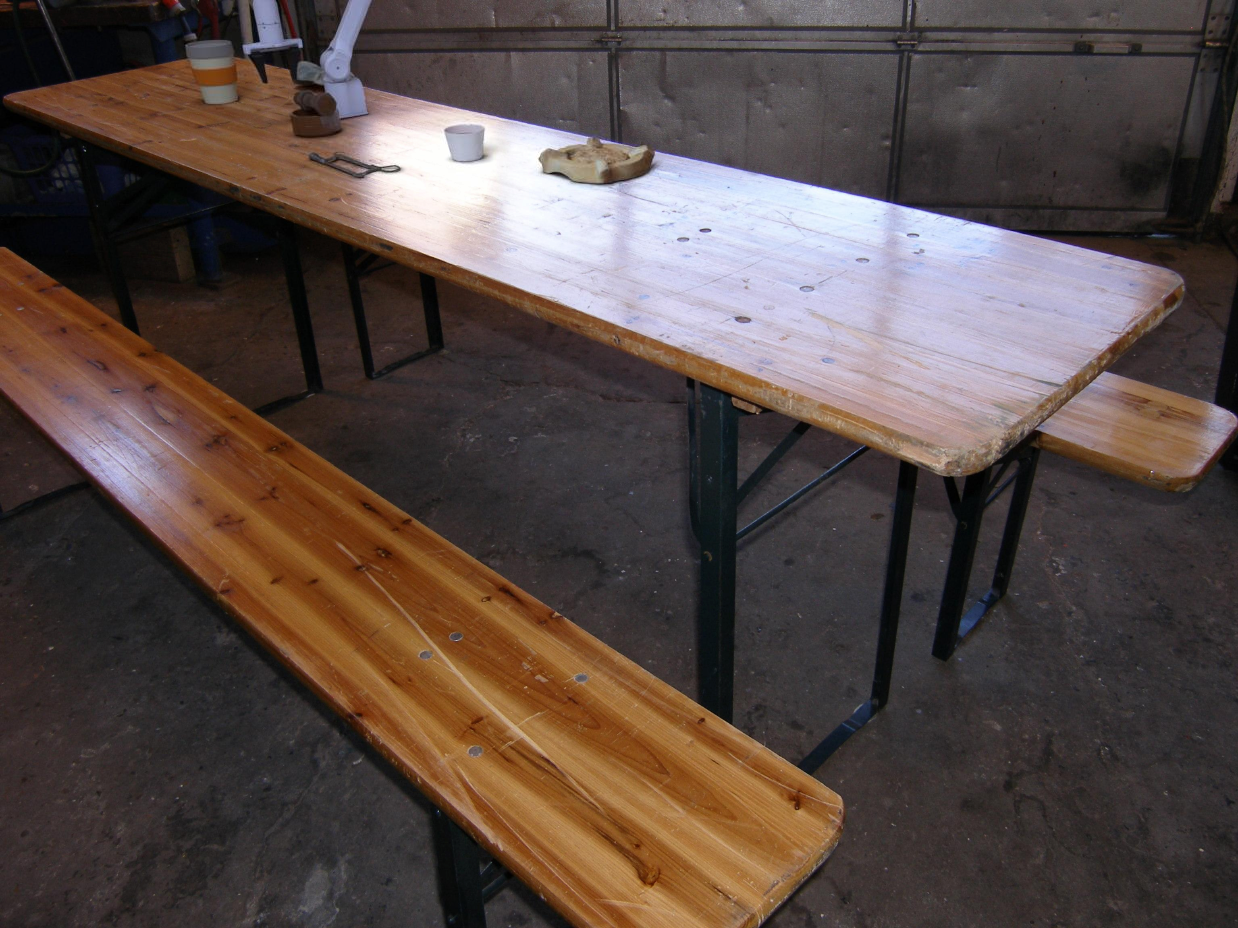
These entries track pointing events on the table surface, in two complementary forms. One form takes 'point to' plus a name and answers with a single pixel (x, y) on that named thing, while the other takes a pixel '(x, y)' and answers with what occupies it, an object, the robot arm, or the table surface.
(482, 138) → the white tapered cup
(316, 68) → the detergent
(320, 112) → the bolt
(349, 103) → the robot arm
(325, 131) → the bowl
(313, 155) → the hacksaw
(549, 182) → the table surface
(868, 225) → the table surface
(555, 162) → the ashtray
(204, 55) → the reusable coffee cup
